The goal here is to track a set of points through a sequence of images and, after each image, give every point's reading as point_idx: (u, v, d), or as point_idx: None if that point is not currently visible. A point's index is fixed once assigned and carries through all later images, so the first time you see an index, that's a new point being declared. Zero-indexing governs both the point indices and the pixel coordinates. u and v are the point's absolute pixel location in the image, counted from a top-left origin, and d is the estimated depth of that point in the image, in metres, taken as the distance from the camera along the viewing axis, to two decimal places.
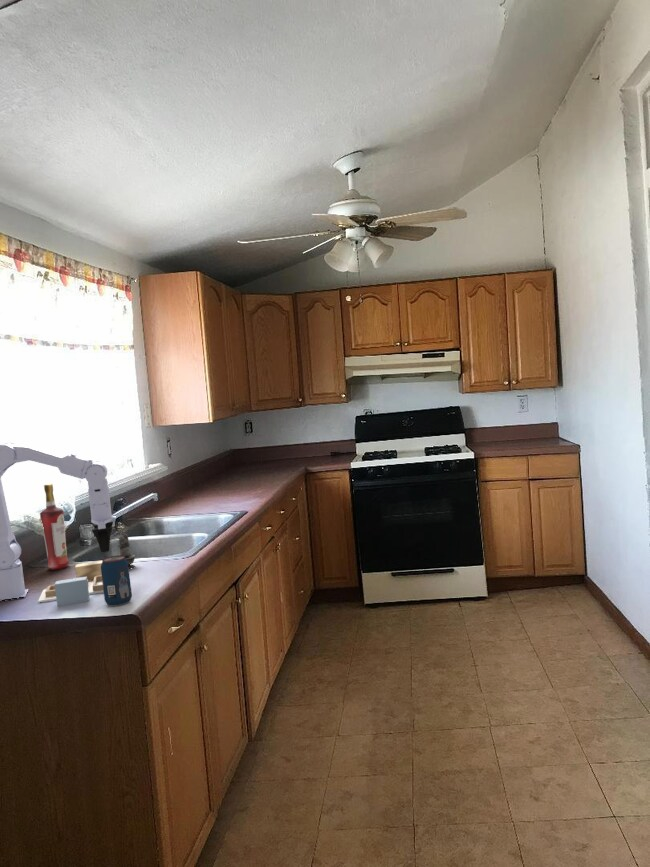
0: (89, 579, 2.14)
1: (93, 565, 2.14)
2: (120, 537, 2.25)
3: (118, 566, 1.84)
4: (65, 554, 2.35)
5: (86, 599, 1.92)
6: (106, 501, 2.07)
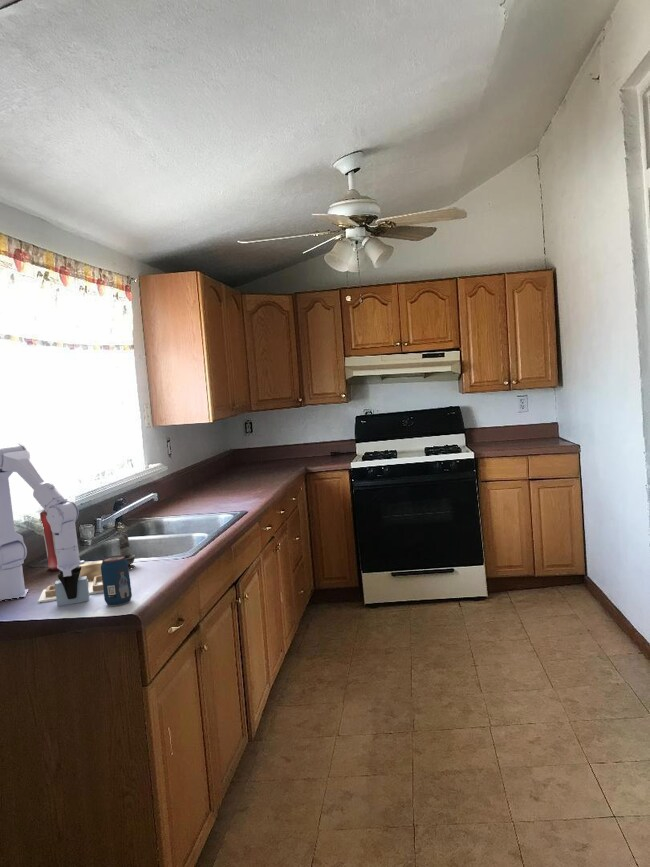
0: (89, 579, 2.14)
1: (93, 565, 2.14)
2: (120, 537, 2.25)
3: (118, 566, 1.84)
4: None
5: (86, 599, 1.92)
6: (66, 546, 1.89)
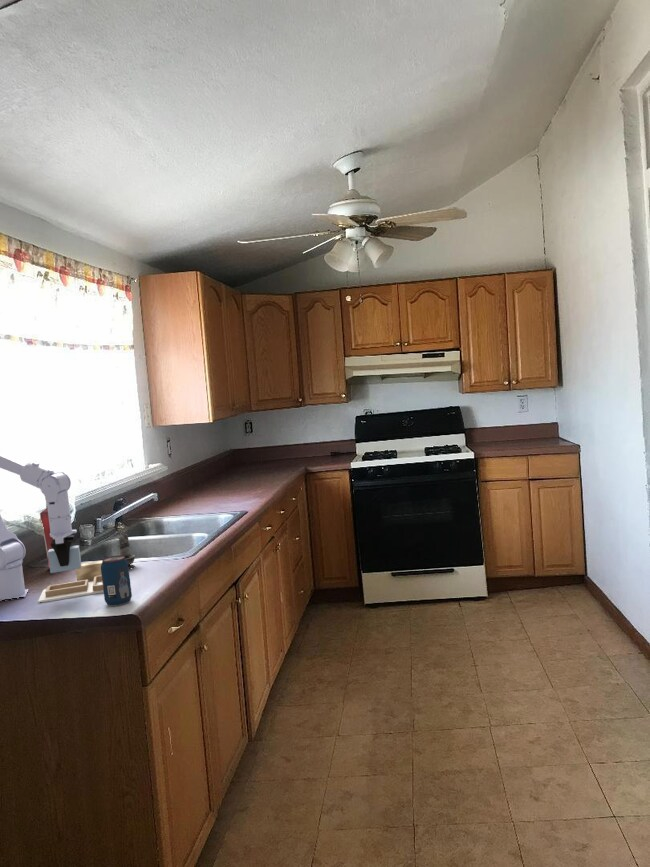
0: (89, 579, 2.14)
1: (93, 565, 2.14)
2: (120, 537, 2.25)
3: (118, 566, 1.84)
4: None
5: (78, 567, 1.99)
6: (61, 515, 1.97)
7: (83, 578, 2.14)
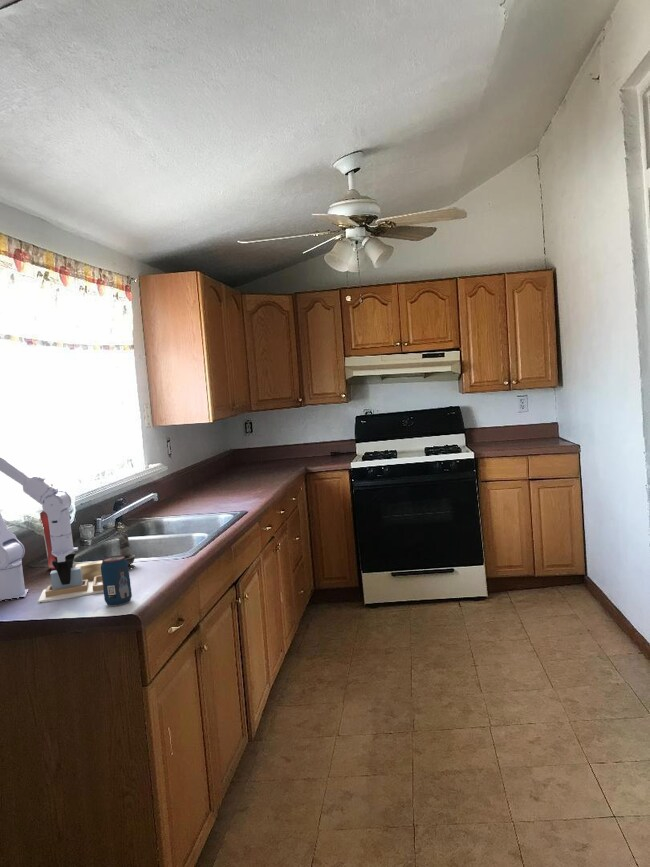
0: (89, 579, 2.14)
1: (93, 565, 2.14)
2: (120, 537, 2.25)
3: (118, 566, 1.84)
4: None
5: None
6: (64, 533, 2.00)
7: (83, 578, 2.14)
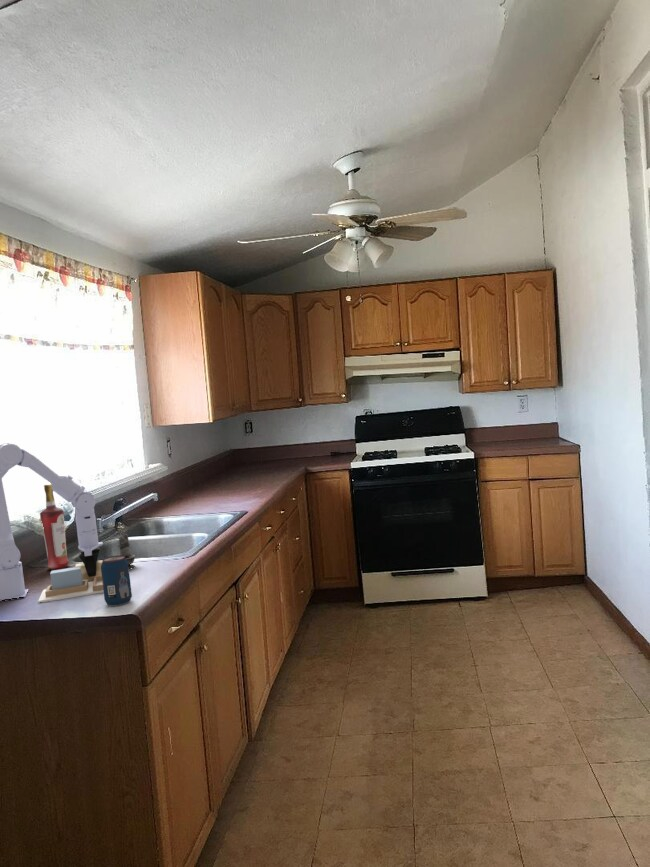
0: (89, 578, 2.14)
1: None
2: (120, 537, 2.25)
3: (118, 566, 1.84)
4: (65, 554, 2.35)
5: None
6: (95, 527, 2.14)
7: (83, 577, 2.14)
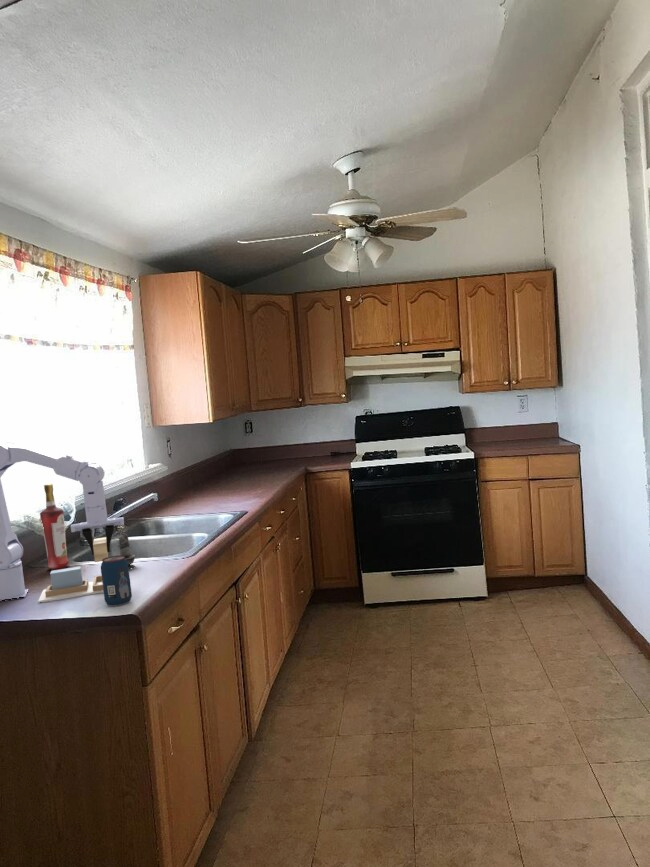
0: None
1: (93, 543, 2.04)
2: (120, 537, 2.25)
3: (118, 566, 1.84)
4: (65, 554, 2.35)
5: None
6: (100, 504, 2.02)
7: None
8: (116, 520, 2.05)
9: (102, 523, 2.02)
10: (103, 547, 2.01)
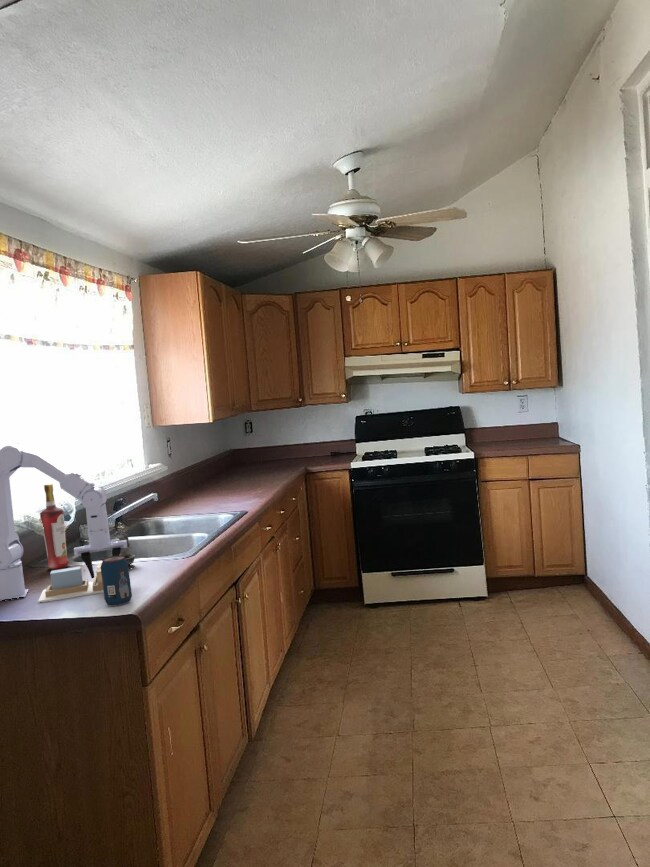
0: None
1: (97, 570, 2.04)
2: (120, 537, 2.25)
3: (118, 566, 1.84)
4: (65, 554, 2.35)
5: None
6: (103, 527, 2.03)
7: None
8: (119, 543, 2.05)
9: (105, 546, 2.03)
10: None
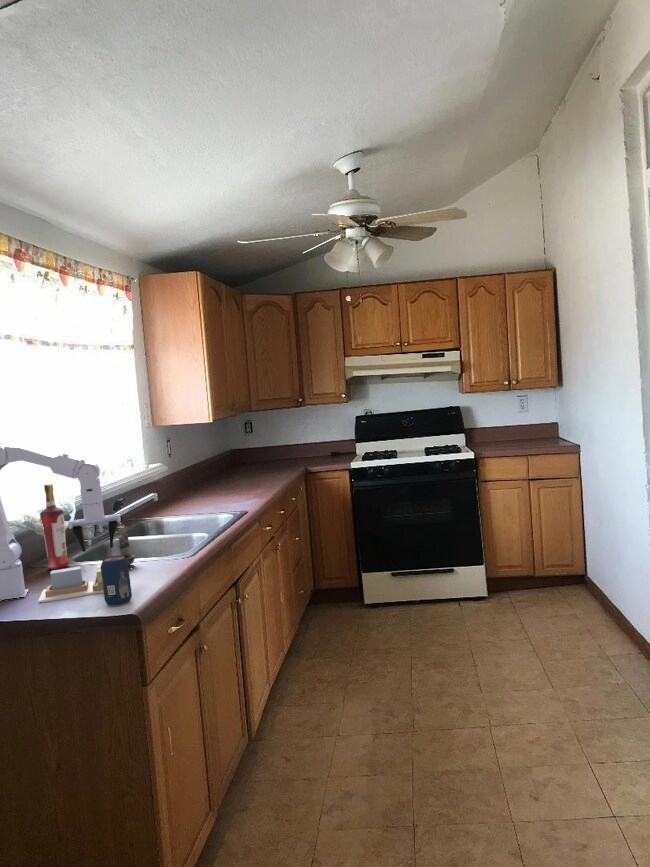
0: None
1: (97, 570, 2.04)
2: (120, 537, 2.25)
3: (118, 566, 1.84)
4: (65, 554, 2.35)
5: None
6: (98, 501, 2.06)
7: None
8: (113, 517, 2.08)
9: (99, 520, 2.06)
10: None
